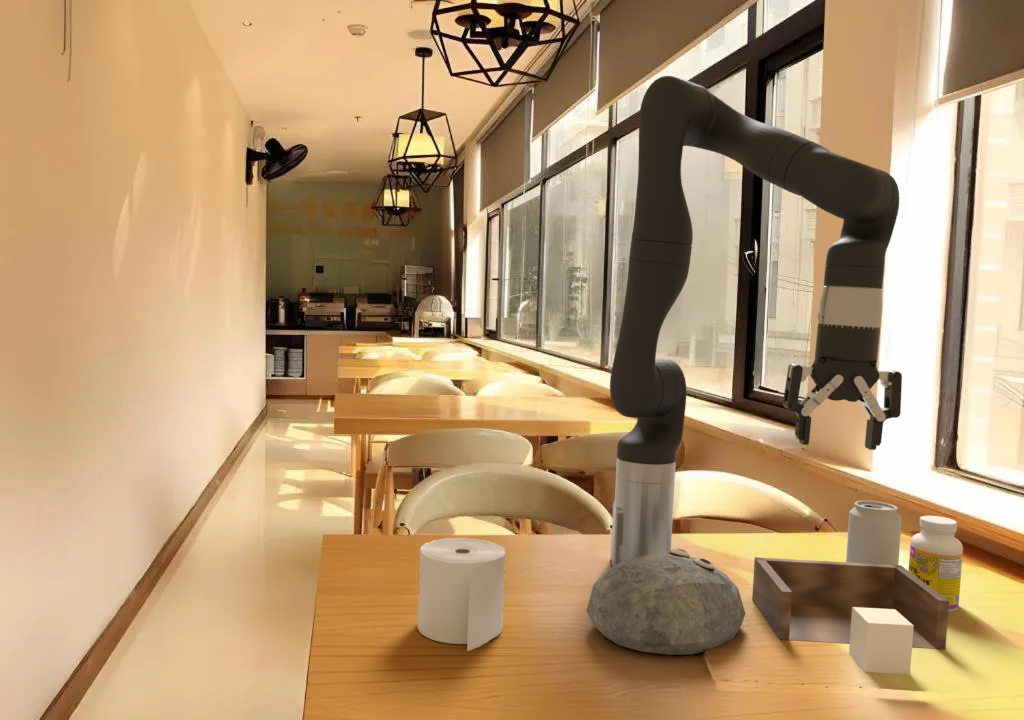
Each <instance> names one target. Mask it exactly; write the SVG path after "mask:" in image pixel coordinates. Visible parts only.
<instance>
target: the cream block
mask: <svg viewBox="0 0 1024 720" xmlns="http://www.w3.org/2000/svg"><path fill="white" fill-rule="evenodd" d="M913 627H914V625H912V624H911V623H910V622H909V621H908V620H907V619H906V618H904V617H903V616H902V615H901V614H900V613H899V612H898V611H896V610H895V609H880V608H862V607H852V617H851V632H850V644H849V650H848V654H849V655H850V656H851V658H853V660H854V661H855V662H856V663H857V664H858V665H859V667H860V668H861V669H862V670H863V671H864V672H866V673H880V674H896V675H897V674H899V675H911V666H912V655H913V654H912V653H913V652H912V651H913V648H912V641H913Z"/></svg>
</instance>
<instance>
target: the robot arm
mask: <svg viewBox="0 0 1024 720" xmlns="http://www.w3.org/2000/svg"><path fill="white" fill-rule="evenodd" d="M638 118H639V119H638V168H637V169H638V171H637V172H638V173H637V186H636V196H635V197H636V198H635V207H634V216H633V217H634V218H633V224H632V225H633V227H632V234H631V239H630V249H629V257H628V271H627V280H626V289H625V297H624V302H623V303H624V304H623V311H622V317H621V318H622V319H621V325H620V329H619V333H618V334H619V335H618V339H617V344H616V349H615V351H614V352H615V354H614V358H613V361H612V367H611V373H610V381H609V394H610V399H611V403H612V405H613V407H614V408H615V410H616V411H617V413H619V414H620V415H621V416H623V417H626V418H632V419H633V418H637V420H636V424H635V425H634V426H633V428H632V429H631V430H630V431H629V432H628V433H627V434H625V435H624V436H622V437H621V438H620V439H619V440H618V443H617V447H616V467H615V468H616V469H615V488H614V489H615V490H614V491H615V492H614V501H613V502H612V503H613V504H612V521H611V522H612V524H611V525H612V526H611V527H612V528H611V540H610V541H611V542H610V546H611V547H610V562H611V565H612V566H611V567H613V566H615V565H617V564H619V563H621V562H624V561H627V560H629V559H633V558H637V557H641V556H645V555H649V554H669V553H670V551H671V550H672V540H673V539H672V536H673V518H674V517H673V516H674V503H675V502H674V499H675V498H674V497H675V483H676V482H675V481H676V463H677V462H676V461H677V452H678V450H679V447H680V445H681V443H682V440H683V434H684V425H685V424H684V423H685V413H686V406H687V404H686V403H687V382H686V377H685V375H684V372H683V369H682V368H681V366H680V365H679V364H678V363H677V362H676V361H674V360H672V359H670V358H665V357H663V358H662V357H656V356H657V347H658V341H659V338H660V332H661V328H662V326H663V324H664V321H665V319H666V318H667V316H668V314H669V312H670V311H671V309H672V307H673V306H674V304H675V303H676V300H677V299H678V298H679V296H680V294H681V293H682V290H683V288H684V287H685V284H686V282H687V279H688V275H689V272H690V265H691V259H692V258H691V257H692V256H691V255H692V249H693V246H692V245H693V235H694V233H693V224H692V220H691V219H692V218H691V216H690V210H689V207H688V203H687V200H686V197H685V193H684V192H685V191H684V189H683V183H682V182H683V181H682V158H683V152H684V151H683V150H684V149H683V148H684V147H693V148H697V149H702V150H706V151H710V152H714V153H715V154H716V153H717V154H719V155H722V156H725V157H728V158H729V159H731V160H733V161H735V162H736V163H738V164H740V165H741V166H742V167H744V168H745V169H746V170H748V171H749V172H750V173H752V174H754V175H755V176H757V177H759V178H761V179H762V180H765V181H766V182H767V183H770V184H772V185H774V186H775V187H778V188H781V189H782V190H785V191H787V192H789V193H791V194H793V195H796V196H799V197H802V198H803V199H805V200H806V201H808V202H809V203H811V204H812V205H814V206H815V207H817V208H819V209H821V210H823V211H824V212H826V213H829V214H830V215H833V216H835V217H837V218H839V219H842V220H843V222H842V227H841V231H840V235H839V239H838V241H835V242H834V243H832V244H831V245H830V246H829V248H828V249H827V253H826V259H825V266H824V278H823V288H822V292H821V296H820V300H819V310H818V313H817V327H816V328H817V331H816V339H815V341H816V342H815V350H814V361H813V363H812V365H811V366H806V365H800V364H797V363H793V362H792V363H790V364H789V365H788V367H787V374H786V380H785V387H784V393H783V400H782V405H783V407H784V408H786V409H788V410H790V411H791V412H794V413H795V415H796V419H795V420H796V421H795V428H794V429H795V431H794V436H795V438H796V439H797V440H798V441H799V442H798V443H800V444H801V445H804V446H805V445H806V446H809V444H810V436H811V426H812V416H810V415H811V414H812V413H813V412H814V410H816V409H817V407H818V406H820V405H822V404H823V403H824V402H825V400H827V399H828V400H830V401H837V402H839V401H847V402H851V403H857V402H858V403H859V404H860V405H861V406H862V407H863V408H864V410H865V411H866V413H867V415H868V416H869V419H866V428H865V429H866V430H865V438H864V447H865V449H868V450H870V451H871V450H872V451H875V450H876V449H877V446H878V447H879V446H881V444H882V439H883V438H882V436H883V435H882V434H883V428H884V423H885V421H886V420H889V419H892V418H894V419H896V418H899V417H900V416H901V407H902V386H903V385H902V384H903V382H902V381H903V375H902V373H901V372H900V371H897V370H893V369H887V370H885V371H884V370H883V371H882V370H881V371H879V370H878V368H877V363H878V358H879V357H878V355H879V346H880V334H881V328H882V327H881V325H882V314H883V290H882V289H883V286H884V285H883V281H884V276H885V275H884V273H885V262H886V261H885V257H886V253H887V250H888V248H889V246H890V245H889V244H890V243H891V239H892V236H893V231H894V228H895V225H896V222H897V218H898V214H899V209H900V191H899V186H898V183H897V182H896V180H895V178H894V177H893V176H892V175H891V174H890V173H888V172H887V171H884V170H882V169H879V168H877V167H872V166H870V165H868V164H865V163H862V162H859V161H857V160H854V159H851V158H848V157H845V156H843V155H840V154H839V153H838V154H837V153H834V152H832V151H830V150H829V149H827V148H826V147H824V146H823V145H821V144H819V143H817V142H814V141H812V140H809V139H808V138H805V137H802V136H801V135H798V134H795V133H793V132H790V131H788V130H785V129H783V128H780V127H776V126H774V125H771V124H767V123H764V122H761V121H758V120H756V119H754V118H751V117H748V116H747V115H745V114H743V113H741V112H740V111H738V110H736V109H734V107H732V106H730V105H729V104H727V103H726V102H724V101H723V100H722V99H720V98H719V97H717V96H716V95H715V94H714V93H712V92H711V91H710V90H709V89H707V88H706V87H705V86H702V85H701V84H698V83H695V82H693V81H689V80H686V79H684V78H681V77H677V76H675V75H663V76H660V77H658V78H656V79H655V80H654V81H653V82H651V84H650V85H649V86H648V88H647V89H646V91H645V93H644V95H643V98H642V100H641V104H640V110H639V117H638ZM808 376H810V377H811V379H812V380H813V382H814V384H815V385H814V386H813V387H812V388H811V389H810V390H809V391H808V392H807V394H806V396H805V397H804V398H803V400H801V401H800V402H799V396H800V390H801V383H804V382H805V381H807V380H806V379H807V377H808ZM878 381H879V382H880V385H881V386H882V387H884V391H883V392H884V393H883V394H884V399H883V407H881V406H880V404H879V402H878V400H877V399H876V397H875V395H874V393H873V392H872V390H871V389H872V387H874V385H875V384H877V382H878Z"/></svg>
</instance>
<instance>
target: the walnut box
mask: <svg viewBox="0 0 1024 720" xmlns="http://www.w3.org/2000/svg"><path fill="white" fill-rule="evenodd" d="M753 563H754V564H753V579H752V581H753V582H752V599H751V600H752V602H753V603H754V604H755V605H756V608H757V609H758V610H759V612H760V613H761V616H763V618H764V619H765V621H766V622H767V624H768V625H769V627H770V628H771V630H772V631H773V633H774V634H775V635H776V637H777V639H778V640H779V641H781V640H783V641H798V642H799V641H800V642H813V643H830V644H831V643H833V644H848V645H850V632H851V617H852V607H862V608H880V609H895V610H896V611H898V612H899V613H900V614H901V615H902V616H903V617H904V618H906V619H907V620H908V621H909V622H910V623H911V624H912V625H914V627H913V641H912V649H913V648H915V649H931V650H946V648H947V647H946V646H947V636H948V635H947V634H948V623H949V622H948V620H949V611H948V609H949V601H948V600H947V599H946V598H944V597H943V596H942V595H940V594H939V593H938V592H936V591H935V590H934V589H932V588H931V587H929V586H928V585H927V584H925V583H924V582H923V581H921V580H920V579H919V578H917V577H916V576H915V575H913V574H912V573H910V572H909V571H908V570H909V569H906V567H904V566H902V565H901V564H898V565H885V564H867V563H849V562H846V561H845V562H844V561H827V560H811V559H795V558H794V559H792V558H776V557H773V558H772V557H756V556H755V557H754V562H753Z"/></svg>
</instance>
